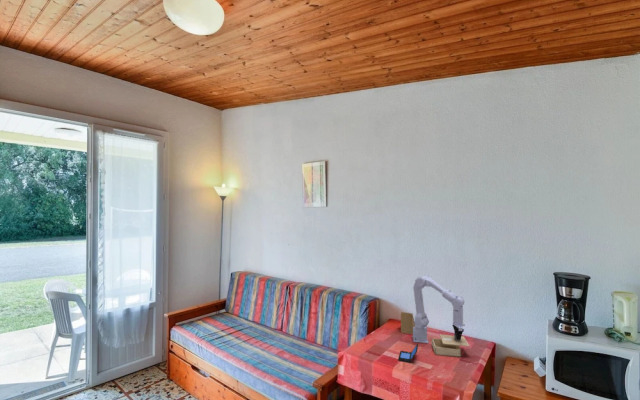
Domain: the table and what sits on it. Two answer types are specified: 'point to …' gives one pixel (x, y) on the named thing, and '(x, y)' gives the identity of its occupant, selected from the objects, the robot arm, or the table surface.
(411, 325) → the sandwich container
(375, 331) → the table surface
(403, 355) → the handheld game console
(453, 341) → the carton lid
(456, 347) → the carton
